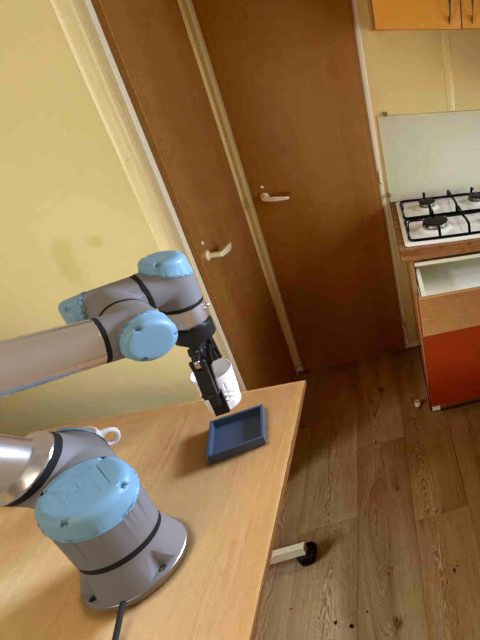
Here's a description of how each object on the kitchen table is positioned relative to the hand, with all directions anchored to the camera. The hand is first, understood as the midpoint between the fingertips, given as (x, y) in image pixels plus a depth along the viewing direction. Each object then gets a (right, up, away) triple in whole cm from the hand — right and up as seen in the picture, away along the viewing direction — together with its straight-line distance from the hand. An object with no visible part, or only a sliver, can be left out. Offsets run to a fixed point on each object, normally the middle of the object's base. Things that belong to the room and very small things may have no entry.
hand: (224, 400), depth 98 cm
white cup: (0, -1, 0) cm, 1 cm away
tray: (0, -11, +6) cm, 12 cm away
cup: (-29, -14, 0) cm, 32 cm away
